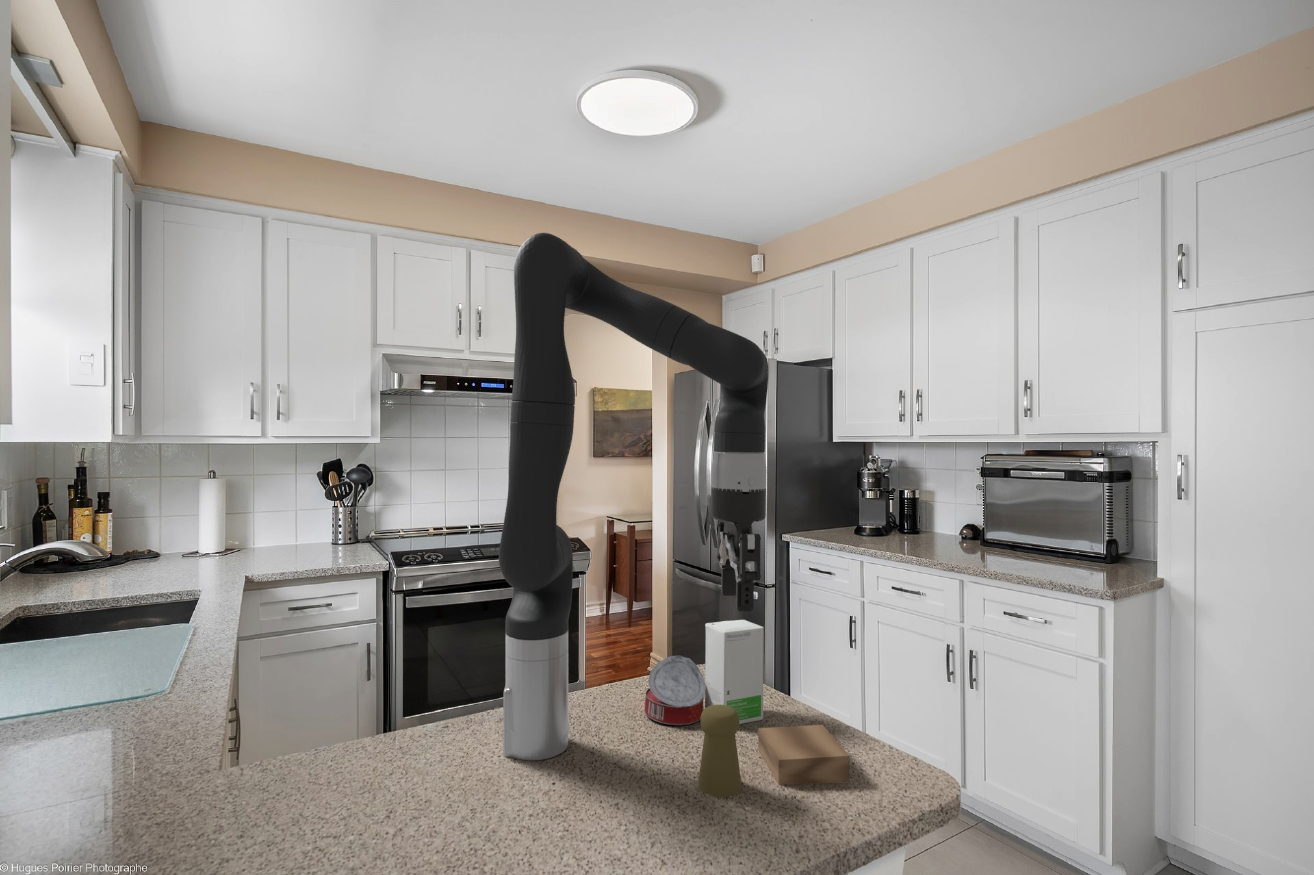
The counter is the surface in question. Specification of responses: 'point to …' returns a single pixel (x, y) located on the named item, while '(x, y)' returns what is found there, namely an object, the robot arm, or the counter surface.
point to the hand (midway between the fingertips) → (736, 602)
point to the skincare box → (735, 667)
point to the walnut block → (803, 755)
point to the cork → (719, 752)
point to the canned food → (675, 692)
